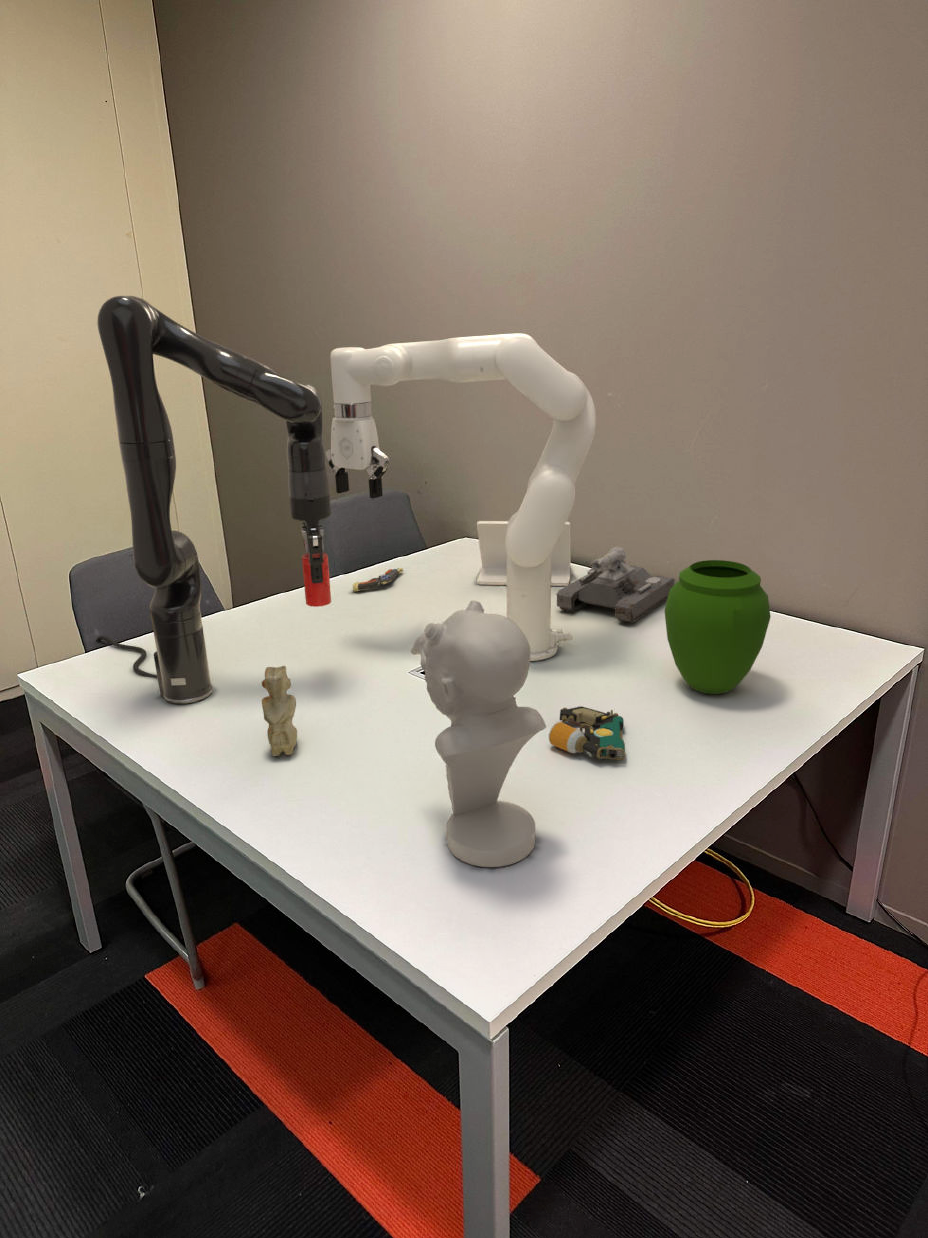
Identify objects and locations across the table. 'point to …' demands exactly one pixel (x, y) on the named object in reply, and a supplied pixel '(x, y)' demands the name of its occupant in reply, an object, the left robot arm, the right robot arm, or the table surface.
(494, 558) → the tablet stand
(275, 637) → the table surface
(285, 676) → the sculpture
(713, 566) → the vase
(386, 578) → the toy gun
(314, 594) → the canister
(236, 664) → the table surface
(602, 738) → the spray gun
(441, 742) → the bust sculpture
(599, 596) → the toy
